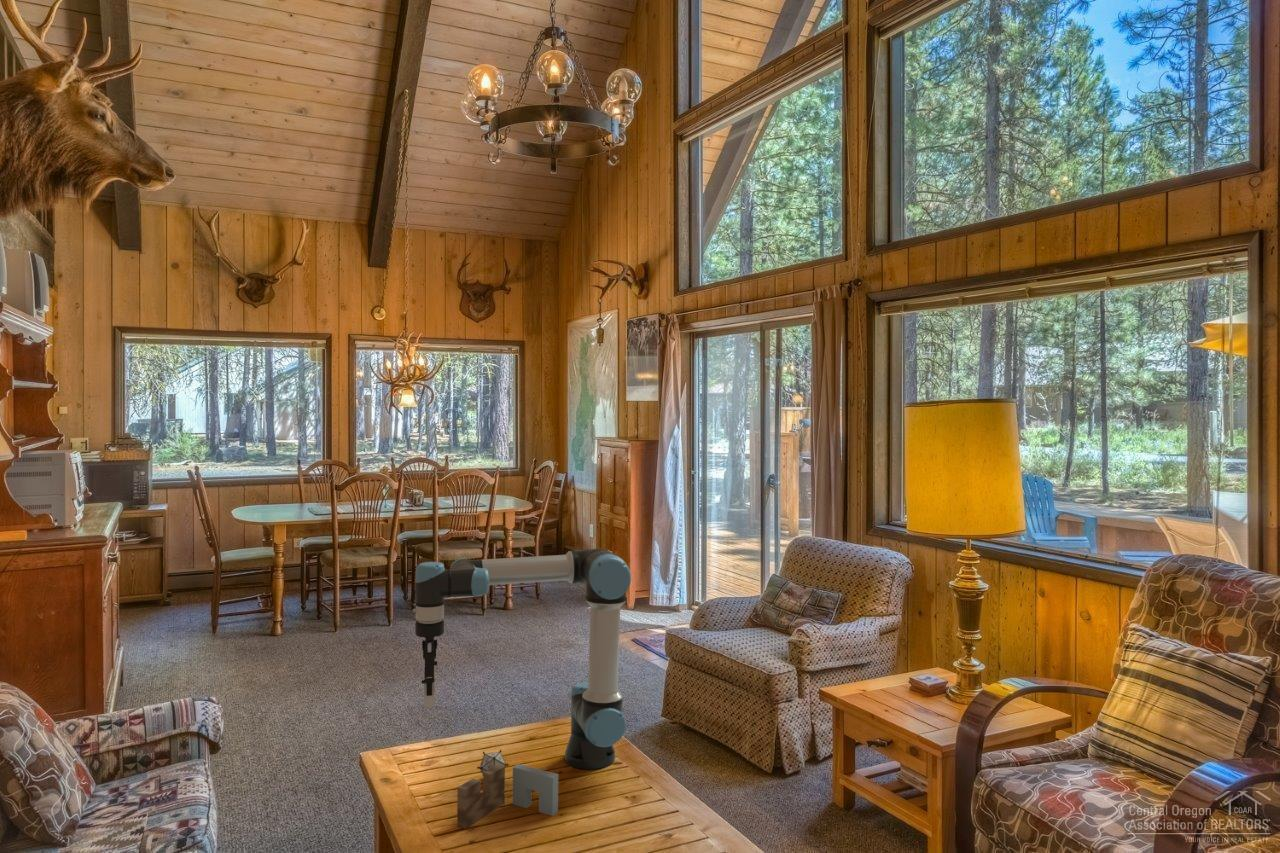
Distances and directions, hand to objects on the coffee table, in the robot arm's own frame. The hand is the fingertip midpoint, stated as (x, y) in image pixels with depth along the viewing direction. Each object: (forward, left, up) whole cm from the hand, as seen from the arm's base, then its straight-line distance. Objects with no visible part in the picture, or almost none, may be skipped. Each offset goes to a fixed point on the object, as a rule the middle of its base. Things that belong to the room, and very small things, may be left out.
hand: (429, 698), depth 228 cm
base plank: (-13, +13, -27) cm, 33 cm away
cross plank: (-27, +13, -27) cm, 40 cm away
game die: (-18, -7, -28) cm, 34 cm away
